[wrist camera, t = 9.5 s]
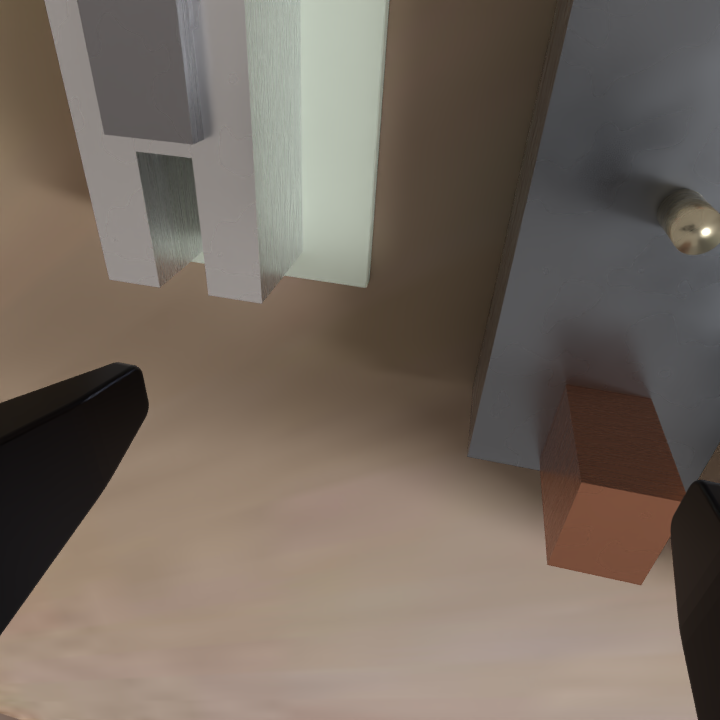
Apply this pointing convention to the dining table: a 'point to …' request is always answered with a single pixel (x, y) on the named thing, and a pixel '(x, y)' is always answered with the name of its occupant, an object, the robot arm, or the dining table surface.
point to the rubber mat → (339, 136)
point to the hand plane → (611, 283)
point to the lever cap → (188, 135)
